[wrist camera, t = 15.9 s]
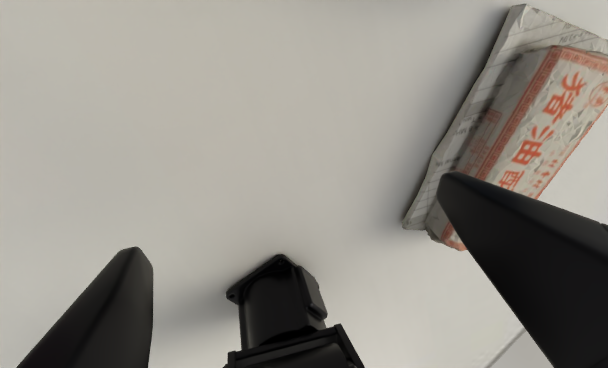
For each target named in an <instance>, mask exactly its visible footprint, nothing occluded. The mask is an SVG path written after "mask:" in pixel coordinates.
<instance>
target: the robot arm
mask: <svg viewBox="0 0 608 368" xmlns="http://www.w3.org/2000/svg"><path fill="white" fill-rule="evenodd" d="M436 198H437V201H438V203H439V204H440V206H441V208H442V209H443V211H444V213H445V215H446V216H447V218H448V220H449V221H450V223H451V225H452V227H453V228H454V230H455V232H456V233H457V235H458V237H459V238H460V240H461V241H462V243H463V244H464V246H465V247H466V248H467V250H468V251H469V252H470V254H471V255H472V256H473V258H474V259H475V261H476V262H477V263H478V265H479V266H480V267H481V269H482V270H483V271H484V273H485V274H486V276H487V277H488V278H489V280H490V281H491V282H492V284H493V285H494V287H495V288H496V289H497V291H498V292H499V293H500V295H501V296H502V297H503V299H504V300H505V302H506V303H507V304H508V306H509V307H510V308H511V310H512V311H513V312H514V314H515V315H516V317H517V318H518V319H519V321H520V322H521V323H522V325H523V326H524V327H525V329H526V330H527V331H528V333H529V334H530V336H531V337H532V338H533V340H534V341H535V342H536V344H537V345H538V347H539V348H540V349H541V351H542V352H543V353H544V355H545V356H546V357H547V359H548V360H549V361H550V363H551V364H552V365H553V367H554V368H608V225H606V224H600V223H599V222H597V221H595V220H592V219H589V218H586V217H583V216H581V215H578V214H575V213H572V212H569V211H567V210H564V209H561V208H558V207H556V206H553V205H550V204H547V203H544V202H542V201H539V200H536V199H533V198H531V197H528V196H525V195H522V194H519V193H517V192H514V191H511V190H508V189H506V188H503V187H500V186H497V185H494V184H492V183H489V182H486V181H483V180H480V179H478V178H475V177H472V176H469V175H467V174H464V173H461V172H458V171H451V172H447V173H444V174H442V175H441V177H440V181H439V184H438V187H437V191H436ZM279 260H281V261H279ZM226 298H227V299H228V300H230V301H232V302H233V303H235V304H237V305H238V307H239V321H240V335H241V349H242V350H241V351H237V352H236V351H232V352H228V364H225V366H224V367H223V368H365V367H364V365H363V363H362V362H361V360H360V358H359V356H358V354H357V352H356V351H355V349H354V347H353V345H352V343H351V342H350V340H349V338H348V336H347V334H346V332H345V331H344V329H343V327H342V325H341V324H336V325H334V327H330V328H326V325H325V322H324V319H325V318H327V314H328V313H327V311H326V308H325V305H324V302H323V299H322V297H321V294H320V291H319V285H318V283H317V282H316V280H315V278H314V277H313V276H312V275H311V274H310V273H308V272H307V271H306V270H305V269H304V268H303V267H301V266H297V265H296V264H295V263H293V262H292V261H291V260H290V259H289V258H287V257H286V256H285V255H283V254H280V255H278V256H276V257H275V258H273V259H272V260H270V261H269V262H267V263H266V264H265V265H263V266H262V267H260V268H259V269H257V270H256V271H255V272H253V273H252V274H250V275H249V276H247V277H246V278H245V279H243V280H242V281H240V282H239V283H237V284H236V285H235V286H233V287H232V288H230V289H229V290H228V291H227V292H226ZM152 329H153V267H152V265H151V263H150V262H149V260H148V259H147V257H146V256H145V254H144V253H143V252H142V250H141V249H140V248H139V247H131V248H127V249H123V250H121V251H119V252H118V253H117V254H116V255H115V256H114V258H113V259H112V260H111V261H110V262H109V263H108V264H107V265H106V267H105V268H104V269H103V270H102V271H101V272H100V273H99V275H98V276H97V277H96V278H95V279H94V280H93V281H92V282H91V284H90V285H89V286H88V287H87V288H86V289H85V290H84V292H83V293H82V294H81V295H80V296H79V297H78V298H77V299H76V301H75V302H74V303H73V304H72V305H71V306H70V307H69V308H68V310H67V311H66V312H65V313H64V314H63V315H62V316H61V318H60V319H59V320H58V321H57V322H56V323H55V324H54V325H53V327H52V328H51V329H50V330H49V331H48V332H47V333H46V335H45V336H44V337H43V338H42V339H41V340H40V341H39V342H38V344H37V345H36V346H35V347H34V348H33V349H32V350H31V351H30V353H29V354H28V355H27V356H26V357H25V358H24V359H23V361H22V362H21V363H20V364H19V365H18V366H17V367H16V368H148V362H149V354H150V346H151V338H152Z"/></svg>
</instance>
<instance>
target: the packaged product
mask: <svg viewBox="0 0 608 368" xmlns="http://www.w3.org/2000/svg"><path fill="white" fill-rule="evenodd" d="M607 106H608V40H607V39H604V38H601V37H599V36H597V35H595V34H593V33H591V32H588V31H586V30H583V29H581V28H579V27H576V26H574V25H572V24H569V23H567V22H565V21H563V20H561V19H559V18H557V17H555V16H552V15H550V14H548V13H545V12H543V11H541V10H538V9H535V8H532V7H530V6H529V5H527V4H521V5H515V6H512V7H511V9H510V11H509V14H508V16H507V18H506V21H505V23H504V25H503V27H502V30H501V32H500V34H499V36H498V39H497V41H496V43H495V45H494V48H493V50H492V52H491V55H490V57H489V59H488V61H487V64H486V66H485V68H484V70H483V71H482V73H481V74H480V76H479V77H478V79H477V81H476V82H475V84H474V85H473V87H472V89H471V91H470V93H469V94H468V96H467V98H466V100H465V102H464V103H463V105H462V107H461V109H460V111H459V112H458V114H457V116H456V118H455V120H454V121H453V123H452V125H451V127H450V129H449V130H448V132H447V134H446V135H445V136H444V138H443V139H442V141H441V142H440V144H439V145H438V147H437V148H436V150H435V151H434V153H433V154H432V157H431V161H430V164H429V168H428V171H427V175H426V177H425V180H424V182H423V184H422V186H421V188H420V190H419V193H418V195H417V197H416V198H415V200H414V202H413V204H412V206H411V207H410V209H409V211H408V213H407V214H406V216H405V218H404V220H403V222H402V226H403V228H404V229H405V230H407V229H410V230H426V231H427V232H428V235H429V236H430V238H431V240H433V241H435V242H438V243H442V244H444V245H446V246H449V247H451V248H455V249H456V250H458V251H464V250H467V248H466V247H465V246H464V244H463V243H462V241H461V240H460V238H459V237H458V235H457V233H456V232H455V230H454V228H453V227H452V225H451V223H450V221H449V220H448V218H447V216H446V215H445V213H444V211H443V209H442V208H441V206H440V204H439V203H438V201H437V198H436V191H437V187H438V184H439V181H440V177H441V175H442V174H444V173H447V172H451V171H458V172H461V173H464V174H467V175H469V176H472V177H475V178H478V179H480V180H483V181H486V182H489V183H492V184H494V185H497V186H500V187H503V188H506V189H508V190H511V191H514V192H517V193H519V194H522V195H525V196H528V197H531V198H533V199H536V200H537V199H538V197H539V196H540V194H541V193H542V191H543V190H544V189H545V188H546V187H547V185H548V184H549V183H550V181H551V180H552V179H553V177H554V176H555V175H556V174H557V172H558V171H559V170H560V168H561V167H562V165H563V164H564V163H565V161H566V160H567V158H568V157H569V156H570V155H571V153H572V152H573V151H574V150H575V148H576V147H577V146H578V145H579V143H580V141H581V140H582V139H583V137H584V136H585V135H586V134H587V133H588V131H589V130H590V128H591V127H592V125H593V124H594V122H595V121H596V120H597V119H598V118H599V117H600V116H601V114H602V113H603V111H604V110H605V108H606V107H607Z"/></svg>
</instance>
